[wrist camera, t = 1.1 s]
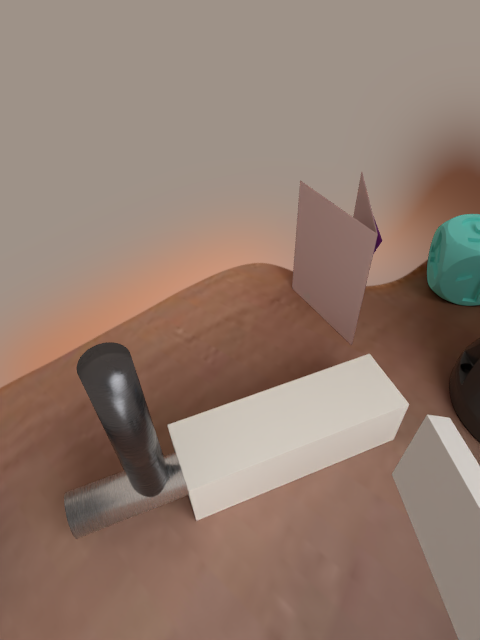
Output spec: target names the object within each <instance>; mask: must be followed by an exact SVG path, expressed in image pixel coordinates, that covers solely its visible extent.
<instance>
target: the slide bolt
mask: <svg viewBox="0 0 480 640" xmlns="http://www.w3.org/2000/svg"><path fill="white" fill-rule="evenodd" d="M77 373H78V375H79V378H80V380H81V382H82V384H83V386H84V388H85V390H86V392H87V394H88V396H89V398H90V400H91V402H92V404H93V407H94V409H95V411H96V413H97V415H98V417H99V419H100V421H101V423H102V425H103V427H104V429H105V431H106V434H107V436H108V438H109V440H110V442H111V444H112V446H113V448H114V450H115V452H116V454H117V456H118V458H119V460H120V463H121V465H122V467H123V469H124V471H122V472H120V473H117V474H114V475H112V476H109V477H106V478H103V479H101V480H98V481H95V482H93V483H90V484H87V485H84V486H82V487H79V488H76V489H74V490H71V491H68V492H66V493H65V496H64V503H65V511H66V516H67V520H68V523H69V527H70V529H71V532H72V534H73V536H74V537H75V538H76V539H78V538H81V537H83V536H86V535H88V534H91V533H94V532H96V531H99V530H101V529H104V528H106V527H109V526H111V525H114V524H116V523H119V522H121V521H124V520H126V519H129V518H131V517H134V516H137V515H139V514H142V513H144V512H147V511H149V510H152V509H154V508H157V507H159V506H162V505H164V504H167V503H169V502H172V501H174V500H177V499H179V498H182V497H185V496H187V495H189V493H188V489H187V486H186V482H185V479H184V476H183V473H182V470H181V467H180V464H179V461H178V458H177V454H176V452H174V453H171V454H168V455H166V456H163V453H162V450H161V447H160V444H159V441H158V438H157V435H156V432H155V429H154V426H153V422H152V419H151V416H150V413H149V410H148V407H147V404H146V401H145V398H144V395H143V392H142V389H141V385H140V382H139V379H138V376H137V373H136V370H135V367H134V364H133V361H132V358H131V355H130V352H129V351H128V349H127V348H126V347H124V346H123V345H121V344H118V343H102V344H98V345H96V346H94V347H92V348H90V349H88V350H87V351H86V352H85V353H84V354H83V355H82V356H81V357H80V359H79V361H78V364H77Z"/></svg>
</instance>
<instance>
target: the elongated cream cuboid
mask: <svg viewBox="0 0 480 640" xmlns="http://www.w3.org/2000/svg"><path fill="white" fill-rule="evenodd" d="M408 406H409V403H408V402H407V401H406V399H405V398H404V397H403V396H402V394H401V393H400V392H399V391H398V389H397V388H396V387H395V385H394V384H393V383H392V382H391V380H390V379H389V378H388V377H387V375H386V374H385V373H384V371H383V370H382V369H381V368H380V366H379V365H378V364H377V363H376V361H375V360H374V359H373V357H372V356H371V355H370V354H367V355H364V356H361V357H359V358H356V359H353V360H350V361H347V362H344V363H341V364H339V365H336V366H333V367H330V368H327V369H324V370H322V371H319V372H316V373H313V374H310V375H307V376H305V377H302V378H299V379H296V380H293V381H290V382H288V383H285V384H282V385H279V386H276V387H273V388H271V389H268V390H265V391H262V392H259V393H256V394H254V395H251V396H248V397H245V398H242V399H239V400H237V401H234V402H231V403H228V404H225V405H222V406H219V407H217V408H214V409H211V410H208V411H205V412H202V413H200V414H197V415H194V416H191V417H188V418H185V419H183V420H180V421H177V422H174V423H171V424H168V425H167V426H168V430H169V433H170V437H171V440H172V444H173V447H174V451H175V452H176V454H177V458H178V461H179V464H180V467H181V470H182V473H183V476H184V479H185V482H186V486H187V489H188V493H189V495H188V496H189V499H190V502H191V505H192V508H193V511H194V514H195V518H196V521H197V520H200V519H202V518H204V517H207V516H209V515H212V514H214V513H217V512H219V511H221V510H224V509H226V508H229V507H231V506H234V505H236V504H238V503H241V502H243V501H246V500H248V499H251V498H253V497H255V496H258V495H260V494H263V493H265V492H268V491H270V490H272V489H275V488H277V487H280V486H282V485H285V484H287V483H289V482H292V481H294V480H297V479H299V478H302V477H304V476H306V475H309V474H311V473H314V472H316V471H319V470H321V469H323V468H326V467H328V466H331V465H333V464H336V463H338V462H340V461H343V460H345V459H348V458H350V457H353V456H355V455H357V454H360V453H362V452H365V451H367V450H370V449H372V448H374V447H377V446H379V445H382V444H384V443H387V442H389V441H391V440H394V438H395V435H396V433H397V431H398V428H399V426H400V424H401V422H402V419H403V417H404V415H405V413H406V410H407V408H408Z"/></svg>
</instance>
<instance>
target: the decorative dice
mask: <svg viewBox="0 0 480 640" xmlns="http://www.w3.org/2000/svg"><path fill="white" fill-rule="evenodd" d="M427 281H428V285H429V287H430V288H431V289H432V290H433V291H434V292H435V293H436V294H437V295H438V296H440V297H441V298H443V299H445V300H447V301H449V302H452V303H455V304H459V305H466V306H473V305H480V215H479V214H466V215H460V216H457V217H454V218H452V219H450V220H448V221H446V222H445V223H443V224H442V225H441V226H439V227H438V229H437V230H436V232H435V234H434V237H433V240H432V243H431V247H430V251H429V257H428V264H427Z"/></svg>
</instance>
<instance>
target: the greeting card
mask: <svg viewBox="0 0 480 640" xmlns="http://www.w3.org/2000/svg"><path fill="white" fill-rule="evenodd" d="M298 204H299V205H298V218H297V231H296V244H295V257H294V270H293V283H292V288H293V289H294V290H295V291H296V292H297V293H298V294H299V295H300V296H301V297H302V298H303V299H304V300H305V301H306V302H307V303H308V304H309V305H310V306H311V307H312V308H313V309H314V310H315V311H316V312H317V313H318V314H320V315H321V316H322V317H323V318H324V319H325V320H326V321H327V322H328V323H329V324H330V325H331V326H332V327H333V328H334V329H335V330H336V331H337V332H338V333H339V334H340V335H341V336H342V337H343V338H344V339H345V340H347V341H348V342H349V343H350V344H351V345H352V342H353V338H354V334H355V330H356V325H357V321H358V317H359V312H360V308H361V304H362V300H363V295H364V291H365V287H366V283H367V278H368V274H369V270H370V265H371V261H372V257H373V254H374V252H375V251H376V249H377V248H378V246H379V245H380V243H381V242H382V239H381V236H380V233H379V230H378V228H377V225H376V222H375V219H374V216H373V214H372V209H371V205H370V201H369V197H368V194H367V189H366V185H365V181H364V177H363V173H362V172H361V178H360V184H359V189H358V195H357V200H356V205H355V211H354V216H353V217H352V216H350V215H349V214H347V213H346V212H345V211H343V210H342V209H340V208H339V207H338V206H336V205H334V204H333V203H332V202H330V201H329V200H327V199H326V198H325V197H323V196H322V195H320V194H319V193H317V192H316V191H315V190H313V189H312V188H310V187H309V186H308V185H306V184H305V183H303V182H302V181H300V190H299V203H298Z"/></svg>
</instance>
